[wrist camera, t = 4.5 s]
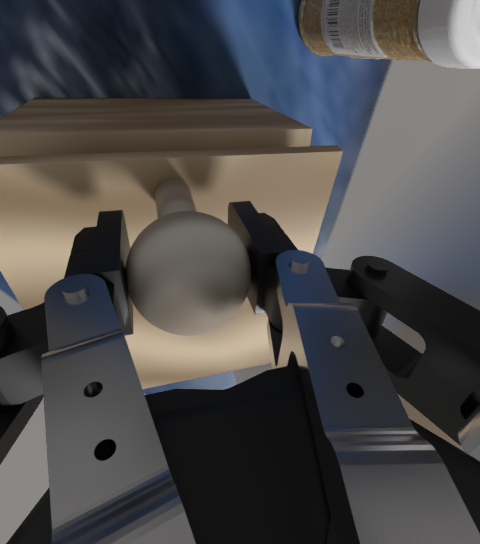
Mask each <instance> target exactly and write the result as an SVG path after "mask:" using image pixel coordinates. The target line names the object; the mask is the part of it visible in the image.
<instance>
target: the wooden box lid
mask: <svg viewBox="0 0 480 544" xmlns="http://www.w3.org/2000/svg"><path fill="white" fill-rule="evenodd" d="M342 154H343V151H342V150H341V149H340V148H339V147H338V146H337V145H334V146H304V147H274V148H244V149H214V150H184V151H154V152H124V153H94V154H64V155H34V156H4V157H0V271H1V273H2V274H3V276H4V278H5V279H6V281H7V283H8V284H9V286H10V288H11V289H12V291H13V293H14V294H15V296H16V298H17V300H18V301H19V303H20V305H21V306H22V308H23V309H24V310H26V309H29V308H32V307H35V306H37V305H40V304H42V303H44V296H45V293H46V291H47V290H48V289H49V287H50V286H52V285H53V284H54V283H56V282H57V281H59V280H61V279H63V278H64V276H65V272H66V268H67V264H68V261H69V257H70V255H71V249H72V247H73V242H74V238H75V236H76V235H77V234H78V233H79V232H80V231H81V230H82V229H83V228H84V227H95V226H97V220H98V214H99V211H112V210H123V213H124V217H125V222H126V228H127V233H128V238H129V244H130V251H129V254H128V257H127V261H126V269H125V277H126V285H127V290H128V293H129V296H130V299H131V300H132V302H133V334H131V335H125V339H126V342H127V345H128V348H129V351H130V354H131V356H132V359H133V362H134V365H135V368H136V371H137V374H138V377H139V380H140V383H141V386H142V389H145V388H150V387H155V386H160V385H165V384H170V383H175V382H180V381H185V380H190V379H195V378H199V377H204V376H209V375H214V374H219V373H224V372H229V371H234V370H239V369H244V368H249V367H254V366H259V365H264V364H269V363H271V356H270V349H269V341H268V334H267V322H268V316H267V314H266V313H264V314H258V315H255V314H254V311H253V309H252V307H251V304H250V302H249V300H248V298H247V295H248V292H249V288H250V284H251V272H252V271H251V263H250V258H249V255H248V252H247V249H246V247H245V245H244V243H243V241H242V240H241V238H240V237H239V236H238V234H237V233H236V232H235V231H234V230H233V229H232V228H231V227H230V226H229V225H228V205H229V203H230V202H239V201H250V202H251V203H252V204H253V206H254V207H255V209H256V210H257V212H258V213H266V214H267V215H269V216H271V217H273V218H274V219H275V220H276V221H277V223H278V224H279V225H280V228H282V229H283V230H284V232H285V234H287V236H288V237H289V238H290V240H291V241H292V242H293V244H294V245H295V246H296V248H297V249H298V250H302V251H306V252H309V253H312V254H313V251H314V247H315V244H316V241H317V237H318V234H319V231H320V227H321V224H322V221H323V217H324V214H325V211H326V207H327V204H328V201H329V197H330V194H331V191H332V187H333V184H334V181H335V177H336V174H337V171H338V167H339V164H340V161H341V157H342Z"/></svg>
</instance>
